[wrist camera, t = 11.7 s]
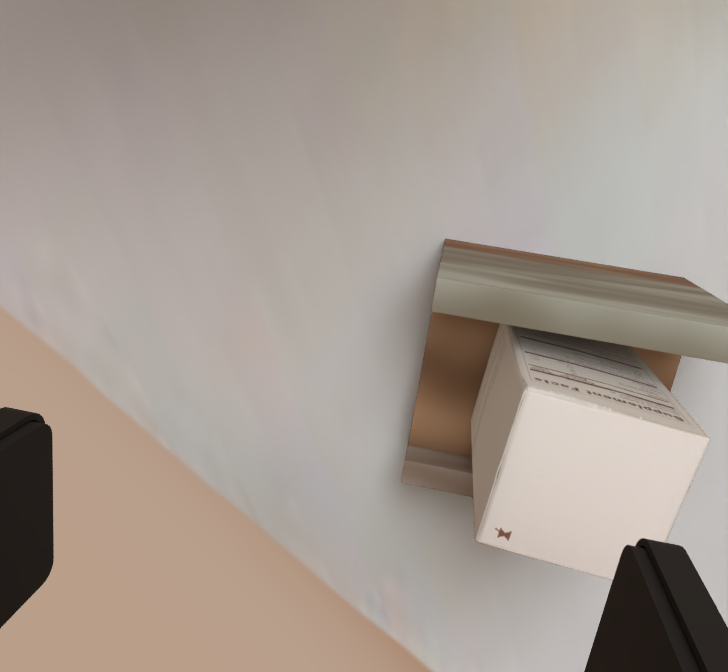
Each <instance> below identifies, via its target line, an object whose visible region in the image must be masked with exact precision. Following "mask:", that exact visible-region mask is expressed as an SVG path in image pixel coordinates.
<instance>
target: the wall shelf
mask: <svg viewBox="0 0 728 672" xmlns="http://www.w3.org/2000/svg"><path fill="white" fill-rule="evenodd" d="M431 311H432V315H431V320H430V326H429V331H428V337H427V342H426V348H425V353H424V359H423V365H422V370H421V376H420V381H419V387H418V392H417V398H416V403H415V409H414V415H413V420H412V426H411V431H410V437H409V442H408V448H407V453H406V458H405V463H404V469H403V475H402V480H401V482H402V483H407V484H412V485H417V486H422V487H426V488H431V489H436V490H441V491H446V492H451V493H456V494H461V495H465V496H470V497H473V469H472V441H471V417H472V414H473V411H474V407H475V404H476V400H477V397H478V394H479V390H480V387H481V384H482V380H483V377H484V374H485V370H486V367H487V363H488V360H489V357H490V353H491V350H492V347H493V344H494V341H495V337H496V334H497V331H498V328H499V325H500V323H501V324H507V325H512V326H518V327H524V328H529V329H535V330H541V331H546V332H552V333H558V334H564V335H569V336H575V337H581V338H586V339H592V340H598V341H603V342H609V343H615V344H620V345H626V346H631V347H632V348H633V349H634V350H635V351H636V353H637V354H638V355H639V356H640V357H641V358H642V360H643V361H644V362H645V363H646V364H647V366H648V367H649V368H650V369H651V370H652V371H653V373H654V374H655V375H656V376H657V377H658V378H659V380H660V381H661V382H662V383H663V384H664V386H665V387H666V388H667V389H668V390H669V391H671V387H672V384H673V381H674V378H675V375H676V371H677V368H678V365H679V362H680V358H681V355H683V356H689V357H694V358H700V359H706V360H711V361H717V362H723V363H728V304H727V303H725V302H723V301H722V300H720V299H718V298H717V297H715V296H713V295H712V294H710V293H708V292H707V291H705V290H703V289H702V288H700V287H698V286H697V285H695V284H693V283H692V282H690V281H688V280H687V279H685V278H682V277H676V276H670V275H664V274H658V273H651V272H645V271H639V270H633V269H627V268H621V267H615V266H609V265H603V264H596V263H590V262H584V261H578V260H572V259H566V258H560V257H554V256H547V255H541V254H535V253H529V252H523V251H517V250H511V249H505V248H499V247H492V246H486V245H480V244H474V243H468V242H462V241H456V240H450V239H445V243H444V248H443V252H442V257H441V262H440V266H439V271H438V276H437V281H436V286H435V292H434V298H433V303H432V309H431Z"/></svg>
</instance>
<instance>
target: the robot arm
mask: <svg viewBox="0 0 728 672" xmlns="http://www.w3.org/2000/svg"><path fill="white" fill-rule="evenodd" d="M52 463H53V462H52V431H51V428H50V426H48V425H47V424H45V421H44V419H43V417H42V416H41V415H40V414H37V413H32V412H28V411H23V410H18V409H13V408H7V407H4V408H1V409H0V628H1V627H2V626H3V625H4V624H5V623H6V622H7V621H8V620H9V619H10V618H11V617H12V615H13V614H14V613H15V612H16V611H17V610H18V609H19V608H20V607H21V606H22V605H23V604H24V603H25V602H26V601H27V600H28V599H29V598H30V597H31V596H32V595H33V594H34V593H35V592H36V590H38V589H39V588H40V586H41V585H42V584H43V583H44V582H45V581H46V579H47V577H48V576H49V574H50V571H51V569H52V565H53V467H52V466H53V464H52ZM584 672H728V627H727V626H726V624H725V622H724V620H723V618H722V616H721V615H720V613H719V611H718V609H717V607H716V605H715V604H714V602H713V600H712V598H711V596H710V594H709V593H708V591H707V589H706V587H705V585H704V583H703V582H702V580H701V578H700V576H699V574H698V572H697V571H696V569H695V567H694V565H693V563H692V561H691V560H690V558H689V556H688V554H687V552H686V551H685V549H684V548H683V547H682V546H679V545H674V544H669V543H664V542H660V541H655V540H650V539H645V538H642V539H640V540H639V541H638V542H637V543H636V546H631V545H626V546H625V547H624V549H623V551H622V553H621V556H620V559H619V563H618V566H617V569H616V572H615V575H614V579H613V582H612V585H611V588H610V591H609V595H608V598H607V601H606V604H605V607H604V611H603V614H602V617H601V620H600V623H599V627H598V630H597V633H596V636H595V639H594V643H593V646H592V649H591V652H590V655H589V659H588V662H587V665H586V668H585V671H584Z"/></svg>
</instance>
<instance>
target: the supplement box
mask: <svg viewBox="0 0 728 672" xmlns="http://www.w3.org/2000/svg"><path fill="white" fill-rule="evenodd" d="M471 441H472V469H473V497H474V527H475V541H476V542H477V543H481V544H485V545H489V546H493V547H497V548H500V549H503V550H507V551H510V552H514V553H517V554H521V555H524V556H528V557H531V558H535V559H539V560H542V561H546V562H549V563H552V564H556V565H560V566H563V567H567V568H570V569H574V570H577V571H581V572H585V573H588V574H592V575H595V576H599V577H603V578H606V579H609V580H613V579H614V575H615V572H616V569H617V566H618V563H619V559H620V556H621V553H622V551H623V549H624V547H625V546H626V545H631V546H636V543H637V542H638V541H639V540H640V539H642V538H645V539H650V540H655V541H660V542H664V543H666V540H667V538H668V536H669V534H670V531H671V529H672V527H673V524H674V522H675V520H676V518H677V515H678V513H679V511H680V508H681V506H682V504H683V501H684V499H685V497H686V495H687V492H688V490H689V488H690V485H691V483H692V481H693V478H694V476H695V474H696V472H697V469H698V467H699V465H700V462H701V460H702V458H703V455H704V453H705V451H706V449H707V446H708V444H709V442H710V438H709V437H708V436H707V434H706V433H705V432H704V431H703V430H702V429H701V427H700V426H699V425H698V424H697V423H696V422H695V420H694V419H693V418H692V417H691V416H690V415H689V413H688V412H687V411H686V410H685V409H684V408H683V406H682V405H681V404H680V403H679V402H678V401H677V399H676V398H675V397H674V396H673V395H672V394H671V392H670V391H669V390H668V389H667V388H666V387H665V386H664V384H663V383H662V382H661V381H660V380H659V378H658V377H657V376H656V375H655V374H654V373H653V371H652V370H651V369H650V368H649V367H648V366H647V364H646V363H645V362H644V361H643V360H642V358H641V357H640V356H639V355H638V354H637V353H636V351H635V350H634V349H633V348H632V347H631V346H626V345H620V344H615V343H609V342H603V341H598V340H592V339H586V338H581V337H575V336H569V335H564V334H558V333H552V332H546V331H541V330H535V329H529V328H524V327H518V326H512V325H507V324H501V323H500V325H499V328H498V331H497V334H496V337H495V341H494V344H493V347H492V350H491V353H490V357H489V360H488V363H487V367H486V370H485V374H484V377H483V380H482V384H481V387H480V390H479V394H478V397H477V400H476V404H475V407H474V411H473V414H472V417H471Z"/></svg>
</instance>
